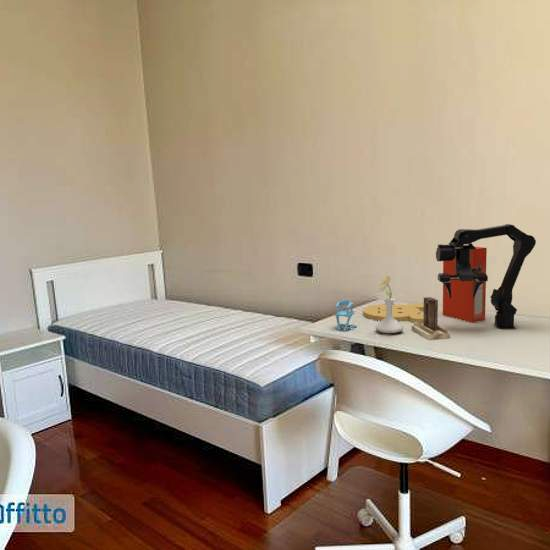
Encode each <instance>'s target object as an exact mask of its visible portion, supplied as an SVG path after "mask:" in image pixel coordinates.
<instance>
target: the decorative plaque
mask: <svg viewBox="0 0 550 550" xmlns="http://www.w3.org/2000/svg"><path fill="white" fill-rule="evenodd" d="M420 311H423V312H424V303H421V302H414V303H412V302H411V303H408V304H407V305H405V304H400V303H399V304H397V303H396V304H394V303H393V306H392V316H393V318H394V319H395V320H397V321H403V322H410V323H412V324H414V322H418V323H420V324H422V325H423V324H424V313H421V312H420ZM386 314H387V310H386V304H383V303H382V304H373V305H369V306H366V307H364V308H363V309H362V316H363V315H364V316H363V317H364V318H366V319H368V318H369V319H368V320H371V319H373V320H372V321H376V320H379V321H378V322H380V321H382V320H383V319H384V318H385V317H386Z"/></svg>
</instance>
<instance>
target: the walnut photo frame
mask: <svg viewBox="0 0 550 550" xmlns="http://www.w3.org/2000/svg"><path fill="white" fill-rule="evenodd" d="M423 304H424V311H423V314H424V324H422V325H424V326H426V327H427V328H429V329H431V330H433V331H437V330H438V325H439V324H438V322H439V321H438V319H439V318H438V315H439V307H438V306H439V299H437V298H434V297H431V296H428V297H423Z"/></svg>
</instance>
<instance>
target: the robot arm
mask: <svg viewBox="0 0 550 550" xmlns="http://www.w3.org/2000/svg"><path fill="white" fill-rule="evenodd" d="M502 236H508V238H509V239H510V240H511V241H513V244H512V253H513V254H512V256H511V259H510V262H509V264H508V267H507V269H506V272H505V274H504V277H503V278H502V279H503V280H502V282H501V284H500V286H499V287H498V288H497V289H495V288H493V290H492V294H491V295H490V297H489V298H490V303H491V305H492V306H493V307H494V309H495V311H496V312H495V313H496V314H494V326H496V327H497V329H516V326H515V315H516V314H517V311H518V309H517V308H516V307H515V305H513V304H512V302H513V290H514V287H515V285H516V282H517V279H518V277H519V274H520V272H521V270H522V266H523V264H524V262H525V260H526V258H527V257H528V256H529V255H530V254H531V252H532V251H533V249H534V248H535V246H536V244H537V241H536V238H535V237H534V236H533V235H530V234H527V233H525V232H524V231H522V230H521V229H519V228H517V227H516V226H515V225H514V224H510V223H506V224H503V225H498V226H497V225H496V226H490V227H485V228H476V229H471V228H470V229H469V228H466V229H465V228H459V229H457V230H455V233H454V234H453V238H452V239H451V240H450V242H449V243H448V244H441V243H440V244H437V248H436V251H435V259H436V261H437V262H443V261H452V260H453V259H455V275H449V274H448V273H443V272H442V273H441V272H439V273H438V274H437V280H438V281H439V282H440V283H442V285H443V284H445V286H446V289H447V292H448V294H449V297H450V298H451V283H450V282H449V281H450V280H460V281H473V292H472V296H473V298H474V297H475V295H476V292H477V290H478V288H479V286H480V285H481V284H482V283H484V282H483V281H486V282H489V281H488V280H489V277H488V275H487V273H486V274H485V273H478V269H471V264H470V249H476V247H477V246H474V245H473V243H475V242H477V241H479V240H482V239H489V238H495V237H502ZM455 247H456V248H455ZM457 247H459V248H457ZM455 250H456V251H455ZM473 279H475V280H473Z"/></svg>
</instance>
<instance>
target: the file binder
mask: <svg viewBox="0 0 550 550" xmlns="http://www.w3.org/2000/svg"><path fill="white" fill-rule="evenodd" d="M475 247H476V249H470V264H471V269H478V273H485V274H486V275H487V253H488V251H487V247H483V246H481V247H480V246H475ZM455 248H456V247H455ZM457 248H459V247H457ZM455 251H456V250H455ZM442 267H443V268H442V273H448V274H449V275H455V259H453V260H452V261H442ZM473 280H475V279H473ZM449 282H450V283H451V298H450V297H449V294H448V292H447V289H446V286H445V284H443V283H442V315H443V316H444V317H445V316H446V317H448V316H449V318H452V317H453V318H452V319H456V318H457V319H456V320H460V319H461V321H464V320H465V322H467V321H468V323H471V322H472V323H471V324H474V323H478V321H479V322H483V321H485V320H486V300H487V299H486V294H487V293H486V290H487V289H486V288H487V281H483V282H484V283H482V284H481V285H480V286H479V288H478V290H477V292H476V295H475V297H474V298H473V296H472V292H473V281H460V280H450V281H449ZM473 322H474V323H473Z"/></svg>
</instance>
